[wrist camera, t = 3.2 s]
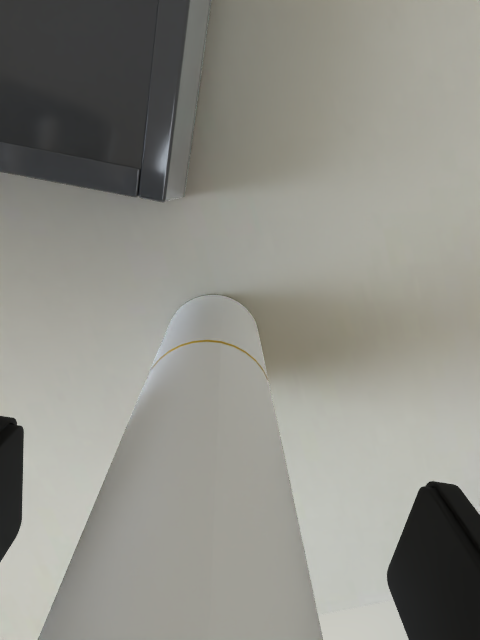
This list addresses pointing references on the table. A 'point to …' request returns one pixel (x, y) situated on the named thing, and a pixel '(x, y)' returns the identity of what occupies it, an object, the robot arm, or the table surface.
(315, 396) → the table surface
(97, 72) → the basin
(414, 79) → the table surface
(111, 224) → the table surface
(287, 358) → the table surface
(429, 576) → the robot arm
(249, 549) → the tube
